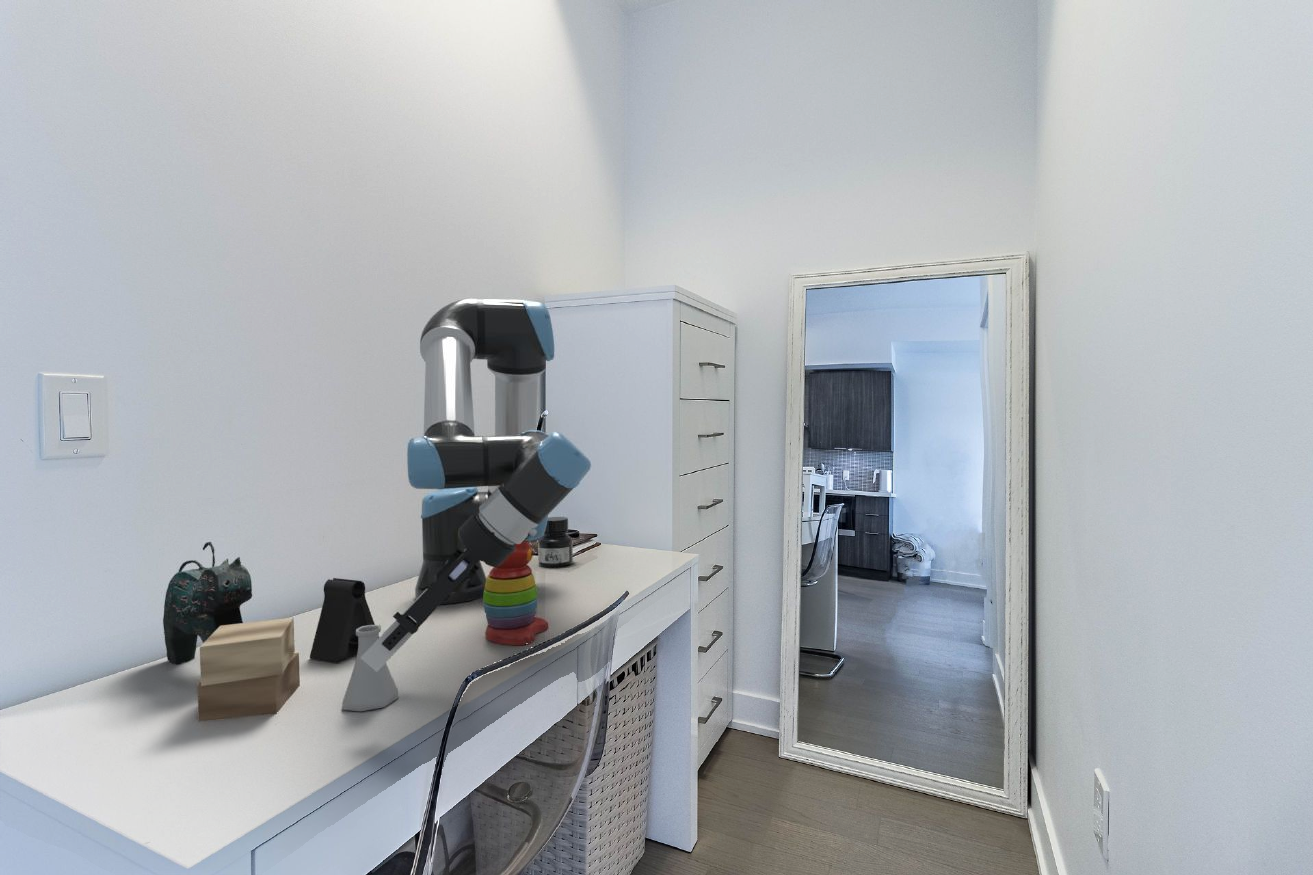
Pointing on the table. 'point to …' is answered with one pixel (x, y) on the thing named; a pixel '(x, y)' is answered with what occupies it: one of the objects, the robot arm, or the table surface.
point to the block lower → (248, 695)
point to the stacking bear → (512, 600)
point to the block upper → (247, 651)
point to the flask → (368, 678)
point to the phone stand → (340, 620)
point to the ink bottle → (555, 544)
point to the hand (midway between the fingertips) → (386, 644)
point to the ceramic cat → (202, 604)
